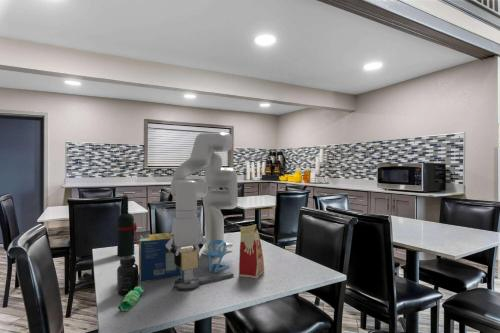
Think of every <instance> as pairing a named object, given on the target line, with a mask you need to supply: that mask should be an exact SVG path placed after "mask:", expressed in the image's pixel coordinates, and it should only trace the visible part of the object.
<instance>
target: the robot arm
mask: <svg viewBox="0 0 500 333" xmlns="http://www.w3.org/2000/svg"><path fill="white" fill-rule="evenodd" d="M233 142H234V140H233V137H232V135H231V133H229V132H202V133H199V134H198V135H196V137H195V139H194V142H193V145H192V146H193V147H192V149H191V153H190V157H189V158H187V159H185V161H184V162H181V164H180V165H179V166H178V167H176V169H175V171H174V173H173V176H172V178H171V183H170V194H171V195H172V197H173V198H175V217H174V218H173V220H172V224H171V225H172V226H171V232H170V233H171V239H170V240H169V241H168V243H167V244H166V245H165V247H166V248H167V249H169V250H170V251H171V252H172V253H173V254H174V263H175V264H176V266H178V267H180V255H179V252H180V249H182V248H188V247H192V248H194V249H196V250H197V251H198V261H199V260H200V258H199V257H200V252H201V254H203V255H204V256H207V255H206V254H207V253H208V251H209V250H208V244H209V242H211V241H214V240H222V241H224V242H225V232H224V231H225V230H224V229H225V227H224V226H225V225H224V224H225V222H224V221H225V218H224V215H223V213H222V211H221V210H233V209H235V208H237V206H238V202H239V198H238V197H239V196H238V194H239V193H238V192H239V191H238V173H237V172H236V169H234V168H231V167H228V168H227V167H225V168H224V167H223V159H222V156H221V154H220V153H219V152H221V153H222V152H225V153H226V152H229V151H231V150H232V148H233V145H234V143H233ZM202 170H204V172H205V173H204V174H205V175H204V176H205V180H204V179H201V178H187V177H188V176H190V175H193V174H195V173H198V172H200V171H202ZM209 187H210V188H227V189H209ZM198 199H202V203H203V204H202V205H203V211H204V236H203V235H202V229H201V223H200V218H199V217H198V216H199V214H201V210H200V209H198ZM171 245H175V248H174V249H173V248H172V247H171ZM219 246H220V244H215V250H219ZM203 247H204V248H203ZM223 247H224V245H223V246H222V247H221V249H220V251H223ZM232 247H233V243H232V242H229V243H228V242H226V246H225V251H227V252H228V248H232ZM202 248H203V249H202ZM209 248H210V252H211V251H212V250H213V249H214V245H213V244H211V245H210V247H209Z"/></svg>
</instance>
